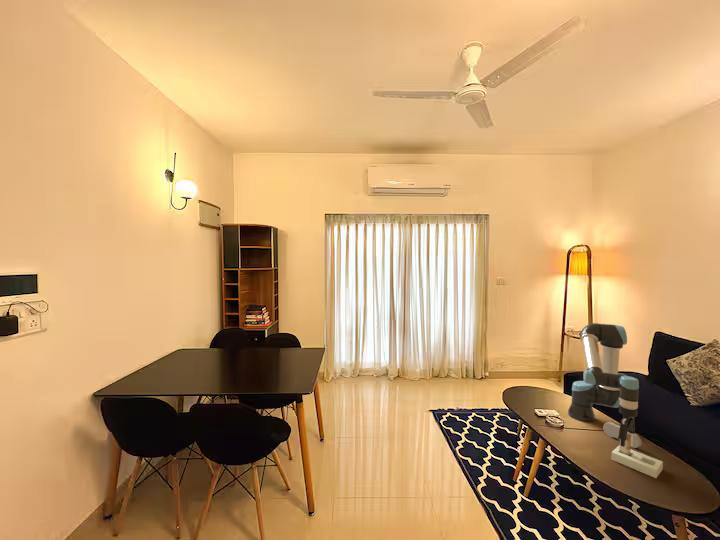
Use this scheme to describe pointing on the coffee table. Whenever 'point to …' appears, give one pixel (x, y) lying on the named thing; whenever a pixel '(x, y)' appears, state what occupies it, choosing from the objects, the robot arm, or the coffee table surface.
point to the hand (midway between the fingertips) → (626, 448)
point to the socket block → (638, 462)
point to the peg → (628, 445)
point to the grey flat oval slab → (613, 431)
